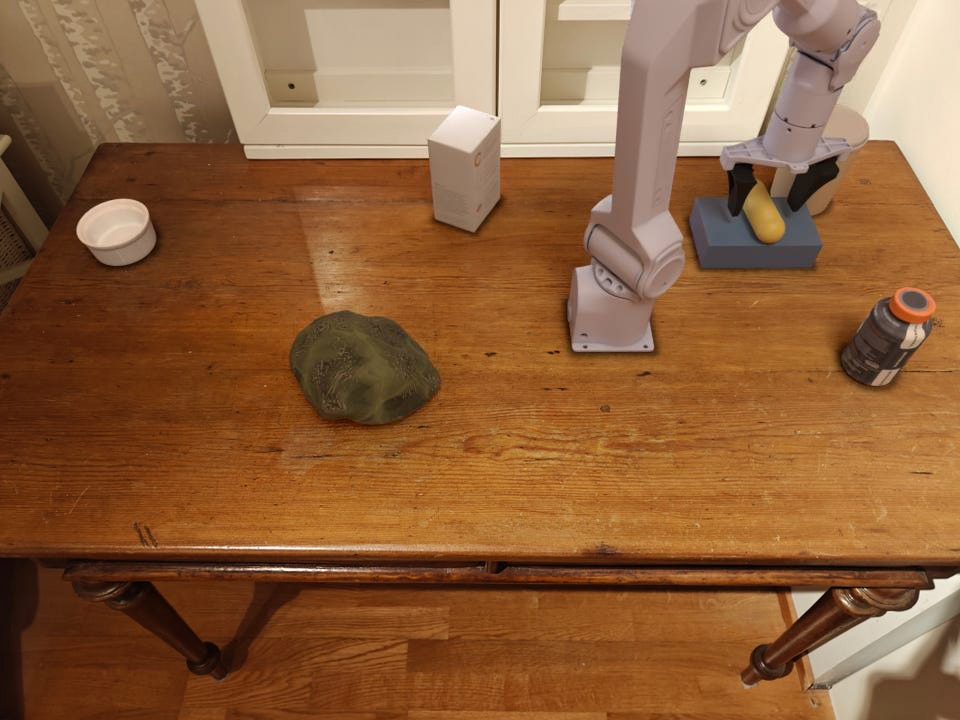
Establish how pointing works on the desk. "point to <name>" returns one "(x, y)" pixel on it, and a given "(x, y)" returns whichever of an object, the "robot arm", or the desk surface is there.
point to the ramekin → (117, 232)
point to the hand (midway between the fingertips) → (762, 208)
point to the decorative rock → (362, 368)
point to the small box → (465, 167)
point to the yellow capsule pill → (763, 215)
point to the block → (751, 237)
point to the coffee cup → (857, 134)
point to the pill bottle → (889, 336)
